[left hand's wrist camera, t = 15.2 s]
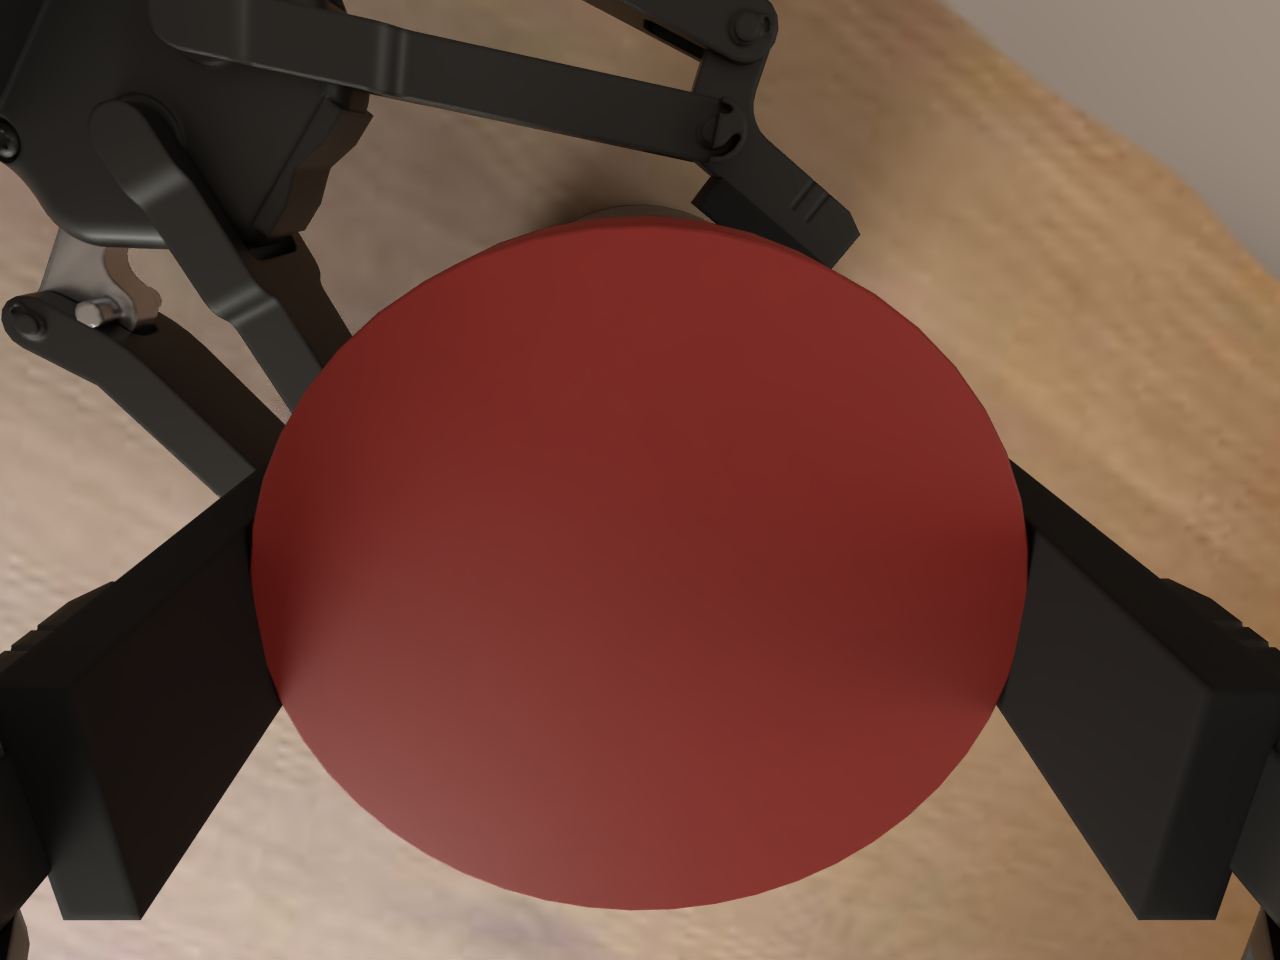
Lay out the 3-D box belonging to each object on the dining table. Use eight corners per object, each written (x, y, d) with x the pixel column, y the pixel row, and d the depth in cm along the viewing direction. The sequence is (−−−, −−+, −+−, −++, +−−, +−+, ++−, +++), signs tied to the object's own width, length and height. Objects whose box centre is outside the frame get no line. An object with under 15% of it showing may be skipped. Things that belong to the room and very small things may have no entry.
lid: (656, 31, 9) (659, 3, 8) (1109, 578, 12) (1180, 640, 10) (164, 555, 12) (90, 614, 10) (628, 914, 14) (627, 1006, 13)
